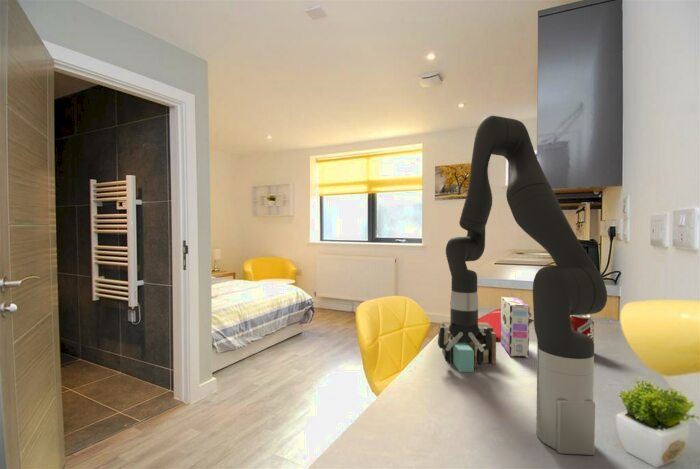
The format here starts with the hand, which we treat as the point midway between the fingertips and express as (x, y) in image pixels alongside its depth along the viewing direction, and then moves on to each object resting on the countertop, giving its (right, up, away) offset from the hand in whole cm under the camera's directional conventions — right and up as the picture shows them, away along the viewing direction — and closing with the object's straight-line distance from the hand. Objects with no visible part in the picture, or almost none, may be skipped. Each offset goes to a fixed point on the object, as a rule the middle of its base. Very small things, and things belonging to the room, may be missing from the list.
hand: (463, 363), depth 102 cm
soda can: (+42, -2, +14) cm, 44 cm away
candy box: (+21, -2, +15) cm, 26 cm away
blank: (0, -2, +4) cm, 4 cm away
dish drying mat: (+28, -1, +44) cm, 52 cm away
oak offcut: (+7, -2, +8) cm, 11 cm away
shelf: (+4, -1, +8) cm, 9 cm away
